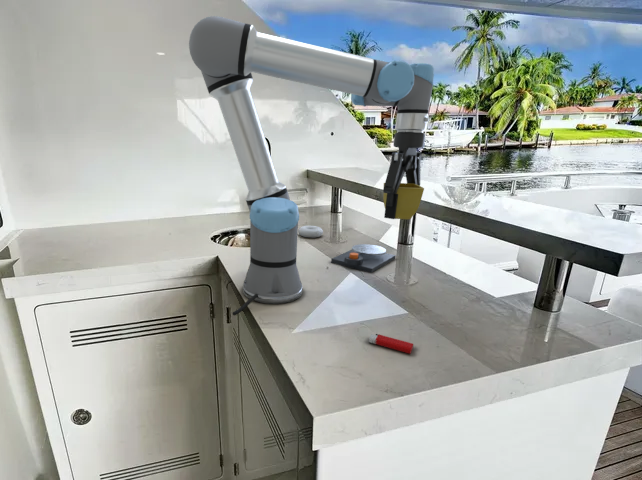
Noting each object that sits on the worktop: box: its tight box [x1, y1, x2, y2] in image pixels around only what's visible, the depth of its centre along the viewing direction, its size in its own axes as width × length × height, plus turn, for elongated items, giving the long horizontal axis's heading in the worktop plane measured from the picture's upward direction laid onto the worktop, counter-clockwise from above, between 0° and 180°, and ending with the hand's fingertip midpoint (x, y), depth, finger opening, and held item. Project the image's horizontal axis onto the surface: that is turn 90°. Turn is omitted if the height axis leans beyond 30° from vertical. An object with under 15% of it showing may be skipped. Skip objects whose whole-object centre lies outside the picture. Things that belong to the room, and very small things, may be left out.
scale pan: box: [351, 243, 387, 255], centre depth 125 cm, size 11×11×1 cm
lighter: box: [368, 333, 414, 355], centre depth 74 cm, size 3×1×8 cm
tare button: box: [349, 253, 358, 259], centre depth 118 cm, size 3×3×2 cm
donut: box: [298, 225, 324, 239], centre depth 153 cm, size 10×4×10 cm
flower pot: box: [382, 182, 425, 221], centre depth 104 cm, size 9×9×9 cm
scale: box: [330, 249, 397, 274], centre depth 123 cm, size 19×14×3 cm
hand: (399, 215), depth 105 cm, fingers closed on flower pot, 11 cm apart
